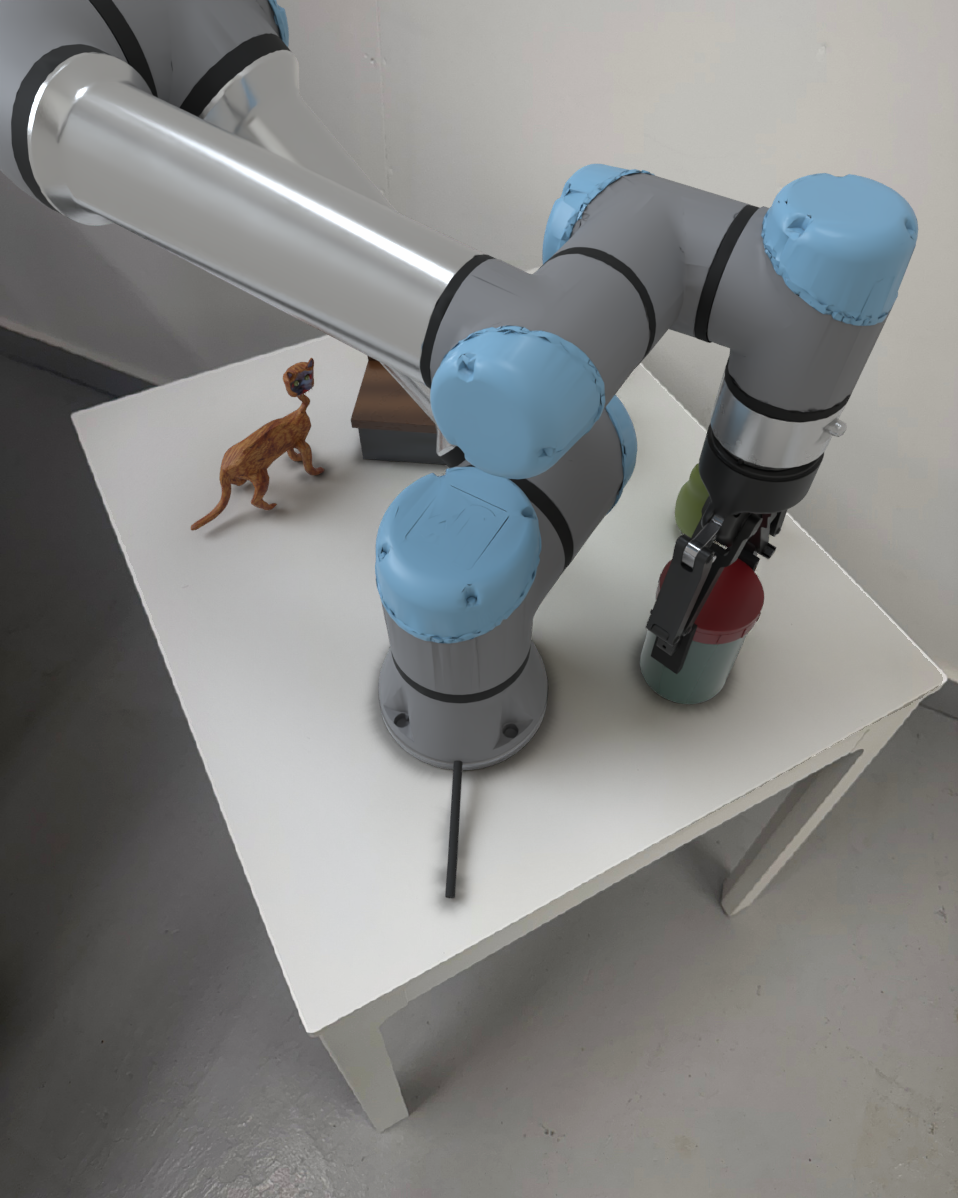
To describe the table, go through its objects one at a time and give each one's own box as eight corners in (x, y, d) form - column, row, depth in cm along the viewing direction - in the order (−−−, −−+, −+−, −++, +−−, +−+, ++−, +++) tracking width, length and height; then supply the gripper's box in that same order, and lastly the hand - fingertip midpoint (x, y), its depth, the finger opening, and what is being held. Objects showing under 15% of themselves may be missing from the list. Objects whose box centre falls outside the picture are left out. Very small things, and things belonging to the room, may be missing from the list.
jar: (729, 708, 74) (764, 638, 65) (639, 700, 75) (661, 629, 65) (723, 634, 79) (755, 559, 69) (639, 627, 79) (659, 551, 70)
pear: (662, 516, 88) (680, 447, 80) (708, 506, 88) (730, 436, 80) (683, 555, 84) (704, 487, 76) (731, 544, 85) (756, 476, 77)
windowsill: (561, 476, 91) (566, 425, 85) (357, 461, 93) (348, 410, 87) (566, 410, 98) (571, 358, 92) (375, 397, 99) (368, 346, 93)
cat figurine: (211, 554, 85) (170, 458, 74) (177, 520, 88) (132, 423, 77) (347, 467, 92) (327, 367, 81) (311, 438, 95) (288, 338, 84)
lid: (777, 600, 68) (784, 586, 67) (721, 663, 65) (726, 650, 63) (693, 547, 72) (697, 532, 70) (635, 604, 68) (638, 590, 67)
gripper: (726, 558, 47) (660, 737, 66) (897, 380, 56) (797, 581, 75) (622, 493, 50) (586, 682, 69) (800, 335, 59) (726, 538, 78)
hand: (696, 629), depth 72 cm, fingers closed on lid, 8 cm apart
